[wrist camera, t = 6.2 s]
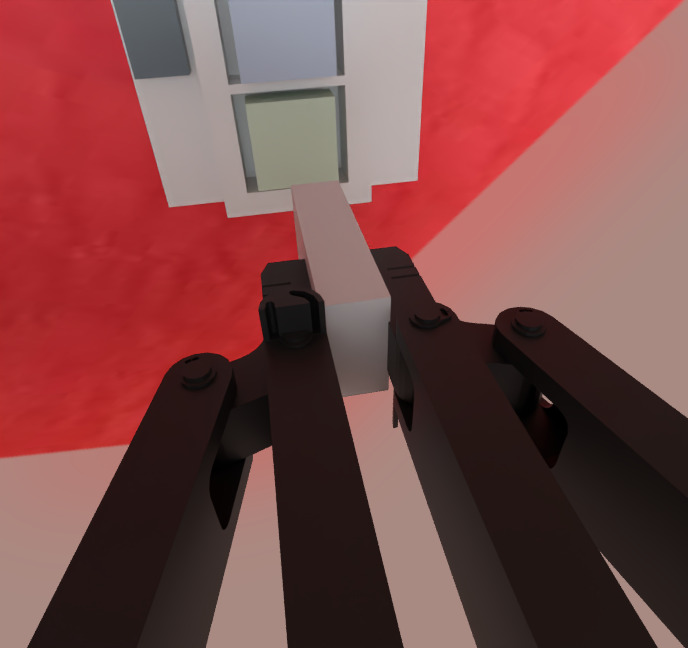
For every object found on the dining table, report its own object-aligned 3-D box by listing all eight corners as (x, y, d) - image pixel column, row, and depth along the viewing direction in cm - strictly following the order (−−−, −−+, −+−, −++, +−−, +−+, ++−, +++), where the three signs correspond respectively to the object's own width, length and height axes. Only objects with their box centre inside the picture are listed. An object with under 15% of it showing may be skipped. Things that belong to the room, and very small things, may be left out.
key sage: (257, 173, 26) (258, 191, 24) (244, 91, 23) (244, 104, 21) (331, 165, 26) (338, 182, 24) (326, 84, 24) (334, 96, 22)
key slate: (240, 72, 22) (241, 83, 20) (223, -39, 19) (222, -38, 17) (328, 65, 22) (337, 76, 20) (322, -44, 20) (331, -44, 18)
